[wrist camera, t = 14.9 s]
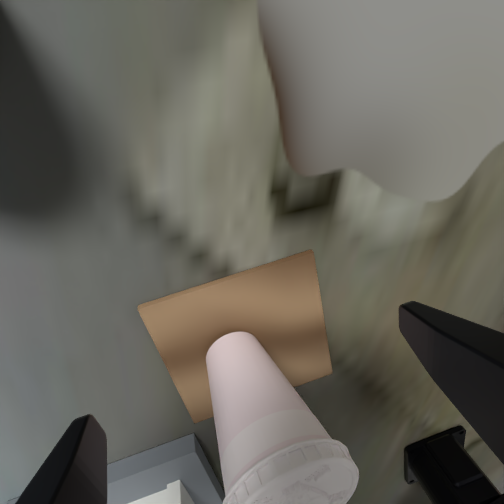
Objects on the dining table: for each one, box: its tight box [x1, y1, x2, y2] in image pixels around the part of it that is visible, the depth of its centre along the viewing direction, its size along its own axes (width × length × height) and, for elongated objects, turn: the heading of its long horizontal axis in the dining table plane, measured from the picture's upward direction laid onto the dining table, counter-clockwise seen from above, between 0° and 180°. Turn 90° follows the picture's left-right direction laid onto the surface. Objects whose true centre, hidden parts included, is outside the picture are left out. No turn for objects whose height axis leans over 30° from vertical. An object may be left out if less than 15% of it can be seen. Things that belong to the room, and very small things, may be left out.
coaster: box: [138, 250, 332, 424], centre depth 23 cm, size 11×11×1 cm
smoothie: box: [206, 332, 359, 504], centre depth 17 cm, size 6×6×14 cm
